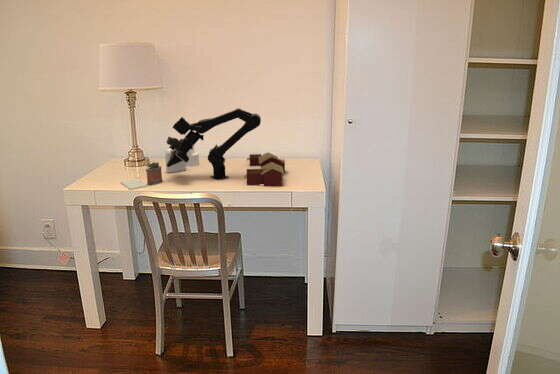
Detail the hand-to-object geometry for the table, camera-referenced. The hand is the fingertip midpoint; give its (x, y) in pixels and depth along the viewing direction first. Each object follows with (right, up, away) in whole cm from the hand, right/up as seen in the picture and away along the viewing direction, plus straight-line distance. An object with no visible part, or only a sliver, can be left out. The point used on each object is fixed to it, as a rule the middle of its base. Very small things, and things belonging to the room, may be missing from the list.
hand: (167, 166), depth 224 cm
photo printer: (0, -2, +19) cm, 19 cm away
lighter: (-6, -8, -1) cm, 10 cm away
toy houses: (+46, -3, +14) cm, 48 cm away
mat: (-15, -9, -3) cm, 17 cm away
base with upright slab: (+5, +2, +32) cm, 33 cm away
